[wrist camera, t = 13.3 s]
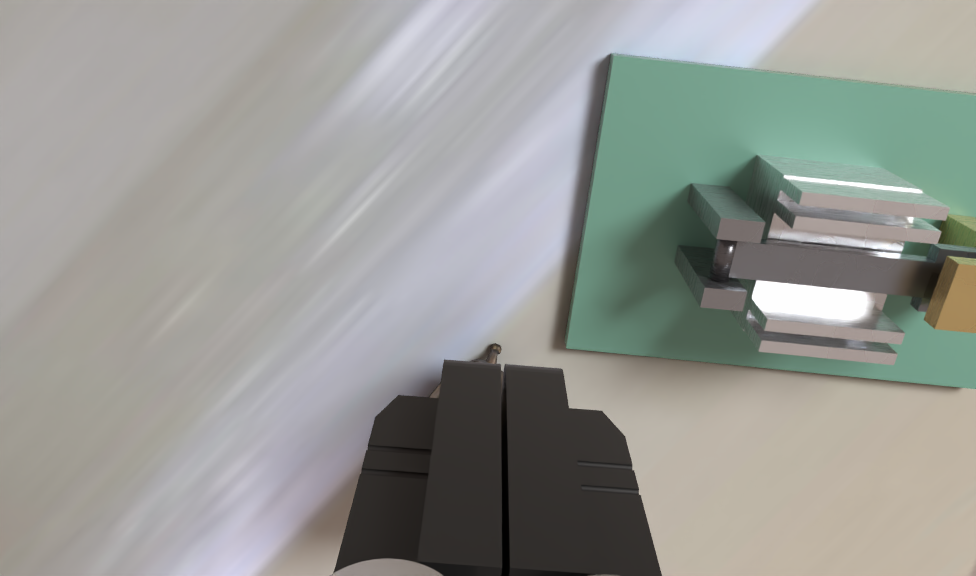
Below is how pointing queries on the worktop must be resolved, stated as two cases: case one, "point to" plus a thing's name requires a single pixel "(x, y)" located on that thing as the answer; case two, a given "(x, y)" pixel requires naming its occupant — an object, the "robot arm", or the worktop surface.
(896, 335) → the heat sink
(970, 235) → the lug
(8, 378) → the worktop surface
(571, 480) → the robot arm
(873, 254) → the strap
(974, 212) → the pcb board
